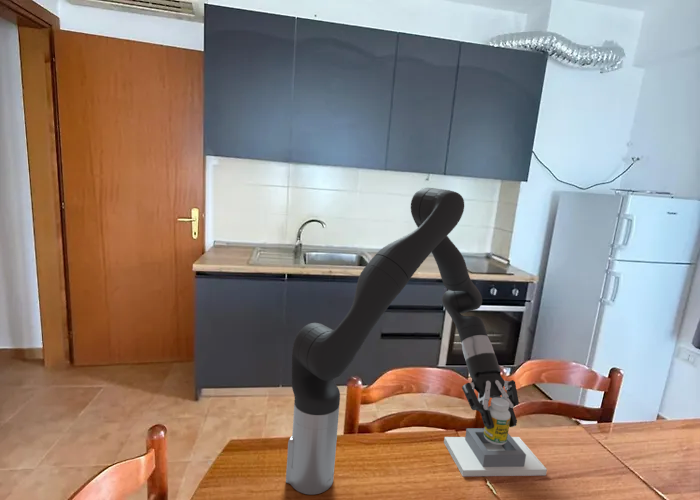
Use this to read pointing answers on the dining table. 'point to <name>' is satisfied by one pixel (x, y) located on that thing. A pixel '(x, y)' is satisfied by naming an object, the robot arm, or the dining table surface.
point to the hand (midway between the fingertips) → (502, 427)
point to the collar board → (492, 456)
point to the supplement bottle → (498, 422)
